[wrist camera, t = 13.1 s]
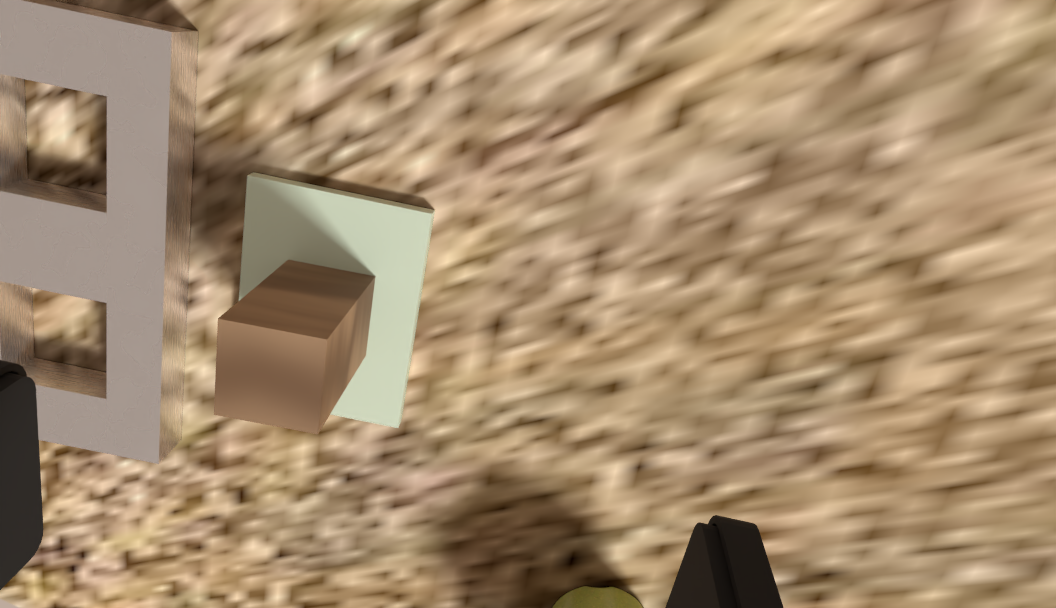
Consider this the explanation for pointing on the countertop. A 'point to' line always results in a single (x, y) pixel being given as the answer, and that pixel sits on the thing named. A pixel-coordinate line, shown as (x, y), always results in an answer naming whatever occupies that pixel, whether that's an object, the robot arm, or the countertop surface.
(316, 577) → the countertop surface
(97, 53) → the socket plate
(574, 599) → the plant pot
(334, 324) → the walnut block
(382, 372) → the sage pad
